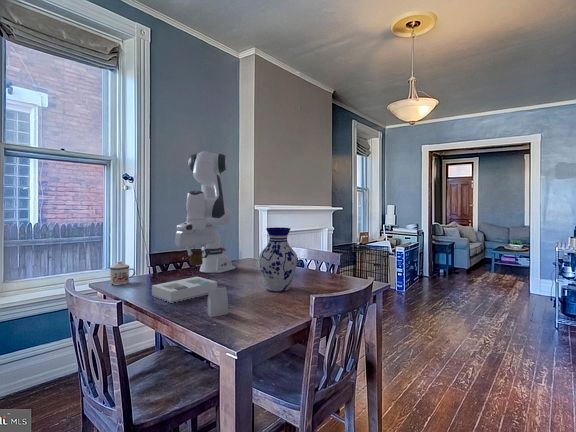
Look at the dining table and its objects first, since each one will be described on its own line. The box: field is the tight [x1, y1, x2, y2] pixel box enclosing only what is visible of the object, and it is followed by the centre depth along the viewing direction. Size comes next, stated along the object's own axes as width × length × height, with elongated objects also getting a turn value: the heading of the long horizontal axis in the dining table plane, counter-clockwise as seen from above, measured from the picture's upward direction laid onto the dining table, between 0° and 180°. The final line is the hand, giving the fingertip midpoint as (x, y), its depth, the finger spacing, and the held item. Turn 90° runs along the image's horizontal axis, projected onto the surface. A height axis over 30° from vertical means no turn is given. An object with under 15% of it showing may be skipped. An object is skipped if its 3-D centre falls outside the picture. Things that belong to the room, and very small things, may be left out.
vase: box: [258, 226, 298, 293], centre depth 166 cm, size 19×19×30 cm
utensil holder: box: [189, 244, 203, 266], centre depth 160 cm, size 6×6×12 cm
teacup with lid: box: [109, 260, 136, 285], centre depth 176 cm, size 12×9×12 cm
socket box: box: [151, 276, 218, 304], centre depth 156 cm, size 24×16×5 cm, turn 139°
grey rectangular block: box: [207, 286, 229, 318], centre depth 130 cm, size 4×7×10 cm, turn 124°
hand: (196, 254), depth 160 cm, fingers closed on utensil holder, 5 cm apart
